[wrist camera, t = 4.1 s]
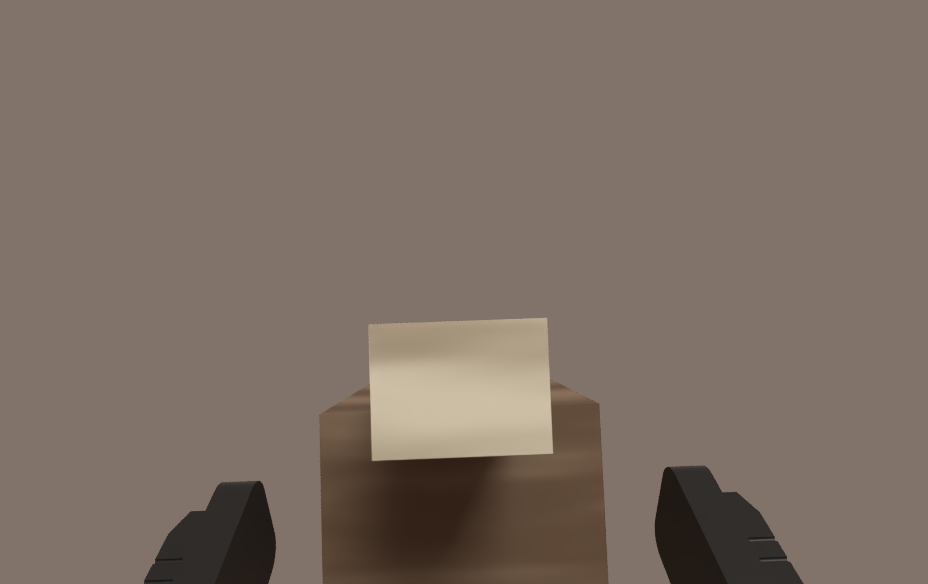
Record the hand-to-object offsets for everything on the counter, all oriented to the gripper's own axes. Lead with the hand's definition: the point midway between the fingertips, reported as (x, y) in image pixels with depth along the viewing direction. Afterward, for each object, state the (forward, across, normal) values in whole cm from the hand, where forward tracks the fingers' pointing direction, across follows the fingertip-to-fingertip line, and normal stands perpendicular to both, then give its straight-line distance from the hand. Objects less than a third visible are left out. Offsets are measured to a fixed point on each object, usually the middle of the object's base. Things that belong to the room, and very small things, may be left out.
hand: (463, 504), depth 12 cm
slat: (+11, 0, +6) cm, 12 cm away
